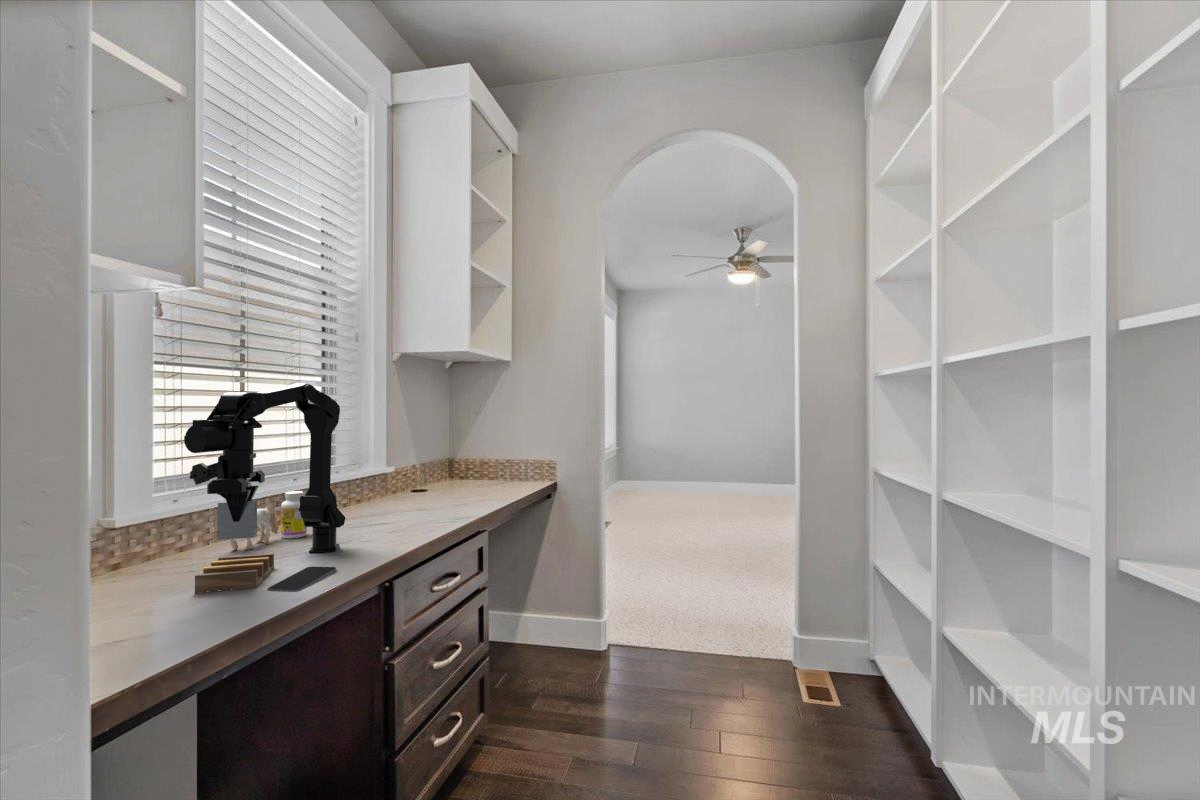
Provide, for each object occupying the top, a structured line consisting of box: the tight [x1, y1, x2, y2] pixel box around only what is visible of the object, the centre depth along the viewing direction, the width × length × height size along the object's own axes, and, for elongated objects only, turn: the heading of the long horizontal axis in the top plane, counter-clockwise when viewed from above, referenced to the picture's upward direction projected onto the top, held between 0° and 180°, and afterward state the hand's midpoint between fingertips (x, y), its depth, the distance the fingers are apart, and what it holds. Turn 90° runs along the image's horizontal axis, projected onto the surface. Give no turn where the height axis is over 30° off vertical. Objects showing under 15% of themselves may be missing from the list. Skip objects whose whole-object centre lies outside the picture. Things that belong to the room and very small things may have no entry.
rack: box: [194, 552, 275, 594], centre depth 125 cm, size 15×11×4 cm
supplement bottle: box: [280, 490, 308, 540], centre depth 165 cm, size 7×7×13 cm
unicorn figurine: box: [228, 506, 280, 551], centre depth 152 cm, size 7×20×13 cm, turn 6°
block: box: [217, 499, 258, 541], centre depth 125 cm, size 2×7×8 cm, turn 107°
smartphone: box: [267, 565, 337, 593], centre depth 125 cm, size 7×1×15 cm
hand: (237, 520), depth 125 cm, fingers closed on block, 2 cm apart
